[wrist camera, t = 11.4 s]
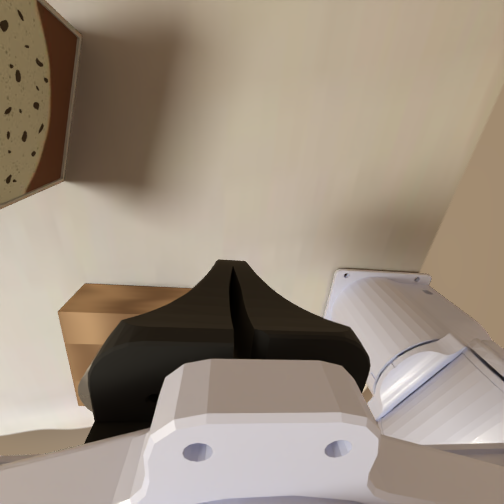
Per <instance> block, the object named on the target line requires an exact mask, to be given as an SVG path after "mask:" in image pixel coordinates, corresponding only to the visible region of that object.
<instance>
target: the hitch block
mask: <svg viewBox="0 0 504 504" xmlns="http://www.w3.org/2000/svg"><path fill="white" fill-rule="evenodd" d="M190 290H191V288H169V287H148V286H126V285H105V284H84V285H83V286H82V287H81V288H80V289H79V290H78V291H77V292H76V293H75V294H74V295H73V296H72V297H71V298H70V299H69V300H68V302H67V303H66V304H65V305H64V306H63V307H62V308H61V309H60V310H59V311H58V315H59V320H60V324H61V329H62V333H63V338H64V342H65V347H66V351H67V356H68V360H69V365H70V369H71V374H72V378H73V383H74V387H75V392H76V396H77V401H78V405H79V406H85V405H84V404H83V403H82V402H81V400H80V398H79V395H78V385H79V382H80V380H81V379H82V377H83V375H84V374H85V372H86V371H87V369H88V367H89V366H90V364H91V362H92V361H93V359H94V357H95V356H96V354H97V352H98V351H99V349H100V347H101V346H102V345H103V344H104V342H105V341H106V339H107V338H108V337H109V335H110V334H111V333H112V331H113V330H114V329H115V328H116V326H117V325H118V324H119V322H120V321H121V320H123V319H127V318H131V317H134V316H137V315H141V314H144V313H147V312H150V311H152V310H155V309H157V308H160V307H162V306H164V305H167V304H169V303H171V302H172V301H174V300H176V299H178V298H179V297H181V296H183V295H184V294H186V293H187V292H189V291H190Z"/></svg>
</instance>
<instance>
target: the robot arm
mask: <svg viewBox="0 0 504 504" xmlns="http://www.w3.org/2000/svg"><path fill="white" fill-rule="evenodd" d="M346 273H348V274H347V275H346V276H344V274H346ZM416 277H417V278H416ZM415 278H416V279H415ZM414 279H415V280H414ZM431 279H432V278H431V276H430V275H428V274H423V273H406V272H389V271H372V270H355V269H338V270H337V271H336V272H335V274H334V278H333V282H332V286H331V290H330V294H329V298H328V301H327V305H326V309H325V313H324V317H323V318H322V317H320V316H317V315H315V314H312V313H310V312H308V311H306V310H304V309H302V308H300V307H298V306H296V305H295V304H293V303H291V302H290V301H288V300H286V299H285V298H283V297H282V296H281V295H279V294H278V293H276V292H275V291H274V290H273V289H271V288H270V287H269V286H268V285H267V284H266V283H265V282H264V281H263V280H262V279H261V278H260V277H259V276H258V275H257V274H256V273H255V272H254V271H253V270H252V268H251V267H250V266H249V265H248V264H247V262H246V261H235V260H217V261H216V263H215V264H214V266H213V267H212V269H211V270H210V271H209V272H208V274H207V275H206V276H205V277H204V278H203V279H202V280H201V281H200V282H199V283H198V284H197V285H196V286H195V287H194V288H192V289H191V290H190V291H189V292H187V293H186V294H184V295H183V296H181V297H179V298H178V299H176V300H174V301H172V302H171V303H169V304H167V305H164V306H162V307H160V308H157V309H155V310H152V311H150V312H147V313H144V314H141V315H137V316H134V317H131V318H127V319H123V320H121V321H120V322H119V324H118V325H117V326H116V328H115V329H114V330H113V331H112V333H111V334H110V335H109V337H108V338H107V339H106V341H105V342H104V344H103V346H102V348H101V349H100V351H99V353H98V354H97V356H96V358H95V359H94V361H93V363H92V365H91V367H90V369H89V372H88V389H89V394H90V399H91V405H92V410H93V415H94V420H95V422H94V424H93V426H92V428H91V430H90V433H89V435H88V437H87V439H86V441H85V443H84V444H82V445H78V446H75V447H70V448H66V449H62V450H58V451H54V452H50V453H47V454H33V455H0V504H504V349H503V348H502V347H501V346H499V345H498V344H497V343H495V342H494V341H492V340H491V338H490V336H489V334H488V333H487V332H486V330H485V329H484V328H483V327H482V326H481V325H480V324H479V323H478V322H477V321H476V320H474V319H473V318H472V317H470V316H469V315H468V314H466V313H465V312H463V311H462V310H461V309H460V308H458V307H457V306H456V305H454V304H453V303H452V302H450V301H449V300H448V299H446V298H445V297H443V296H442V295H441V294H439V293H438V292H437V291H435V290H434V289H433V288H431V287H430V286H429V284H430V282H431ZM365 384H367V386H368V388H369V389H370V391H371V393H372V395H373V397H372V398H371V400H370V401H369V402H368V403H366V401H365V399H364V397H363V395H362V392H363V389H364V386H365ZM367 404H368V405H367ZM368 406H369V407H368ZM369 408H370V409H369ZM370 410H371V411H370ZM371 412H372V413H371ZM373 416H374V417H373Z"/></svg>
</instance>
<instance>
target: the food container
mask: <svg viewBox="0 0 504 504" xmlns="http://www.w3.org/2000/svg"><path fill="white" fill-rule="evenodd" d="M81 42H82V35H81V34H80V33H79V32H78V31H77V30H76V29H75V28H74V27H73V26H72V25H70V24H69V23H68V22H67V21H66V20H65V19H64V18H63V17H62V16H61V15H60V14H59V13H58V12H57V11H56V10H55V9H54V8H53V7H52V6H51V5H50V4H48V3H47V2H46V1H45V0H0V209H2V208H4V207H6V206H9V205H11V204H13V203H16V202H18V201H20V200H22V199H25V198H27V197H29V196H31V195H34V194H36V193H38V192H40V191H43V190H45V189H47V188H50V187H52V186H54V185H56V184H59V183H61V182H63V181H64V177H65V169H66V162H67V154H68V146H69V138H70V130H71V122H72V114H73V106H74V98H75V90H76V82H77V74H78V66H79V58H80V50H81Z"/></svg>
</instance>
